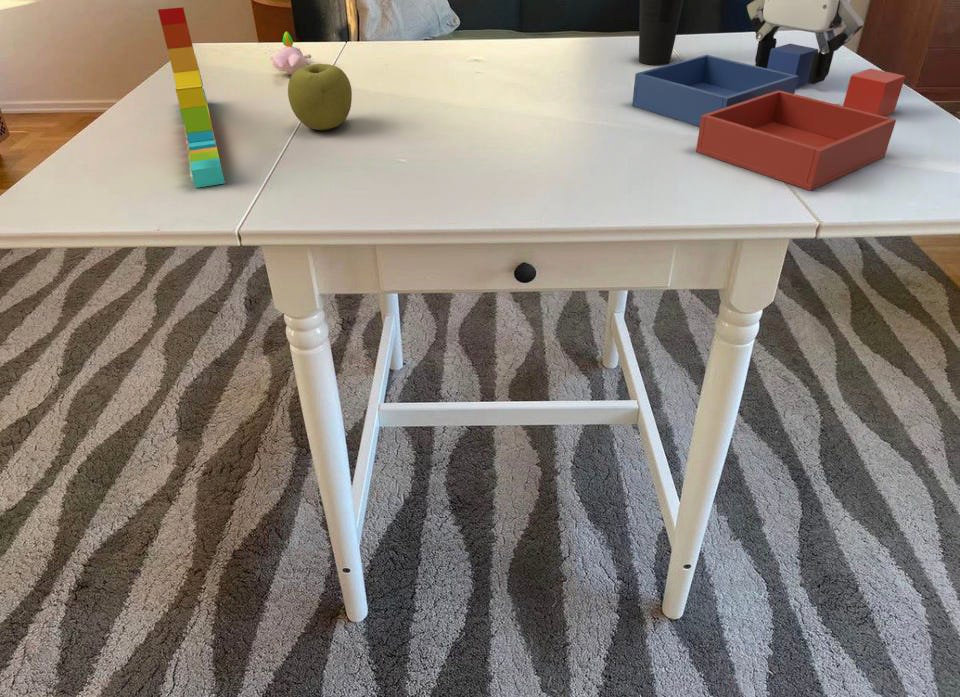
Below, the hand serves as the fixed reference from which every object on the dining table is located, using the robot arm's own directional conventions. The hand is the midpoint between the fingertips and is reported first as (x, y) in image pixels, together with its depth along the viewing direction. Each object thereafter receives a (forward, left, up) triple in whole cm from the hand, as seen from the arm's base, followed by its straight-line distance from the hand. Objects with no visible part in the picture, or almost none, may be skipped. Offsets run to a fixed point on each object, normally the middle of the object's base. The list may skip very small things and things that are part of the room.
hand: (788, 75), depth 101 cm
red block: (-14, +4, -1) cm, 15 cm away
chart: (+32, +73, -1) cm, 79 cm away
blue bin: (0, +17, -1) cm, 17 cm away
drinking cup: (+20, +5, -1) cm, 21 cm away
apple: (+26, +59, -1) cm, 64 cm away
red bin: (-16, +24, -1) cm, 29 cm away
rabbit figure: (+52, +51, -1) cm, 73 cm away
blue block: (0, 0, -1) cm, 1 cm away
